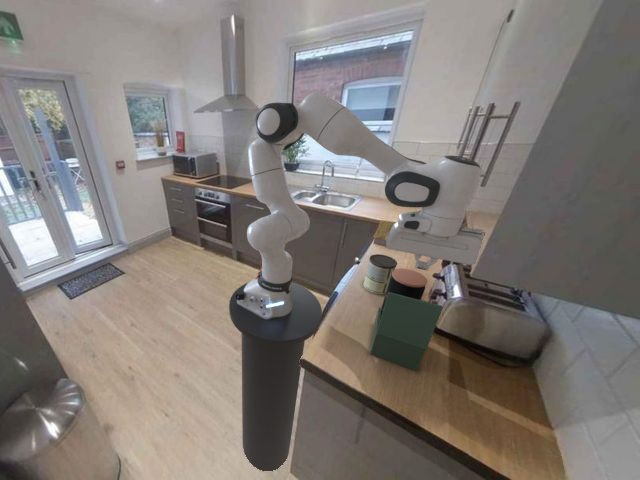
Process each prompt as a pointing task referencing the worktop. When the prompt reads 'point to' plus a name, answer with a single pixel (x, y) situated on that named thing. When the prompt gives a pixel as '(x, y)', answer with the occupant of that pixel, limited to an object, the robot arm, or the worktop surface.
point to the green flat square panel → (409, 320)
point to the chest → (394, 348)
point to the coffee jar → (406, 284)
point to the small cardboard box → (383, 231)
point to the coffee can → (379, 273)
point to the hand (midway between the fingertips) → (421, 268)
